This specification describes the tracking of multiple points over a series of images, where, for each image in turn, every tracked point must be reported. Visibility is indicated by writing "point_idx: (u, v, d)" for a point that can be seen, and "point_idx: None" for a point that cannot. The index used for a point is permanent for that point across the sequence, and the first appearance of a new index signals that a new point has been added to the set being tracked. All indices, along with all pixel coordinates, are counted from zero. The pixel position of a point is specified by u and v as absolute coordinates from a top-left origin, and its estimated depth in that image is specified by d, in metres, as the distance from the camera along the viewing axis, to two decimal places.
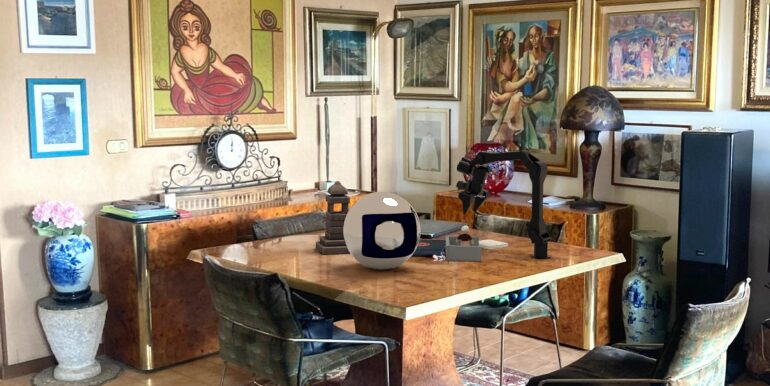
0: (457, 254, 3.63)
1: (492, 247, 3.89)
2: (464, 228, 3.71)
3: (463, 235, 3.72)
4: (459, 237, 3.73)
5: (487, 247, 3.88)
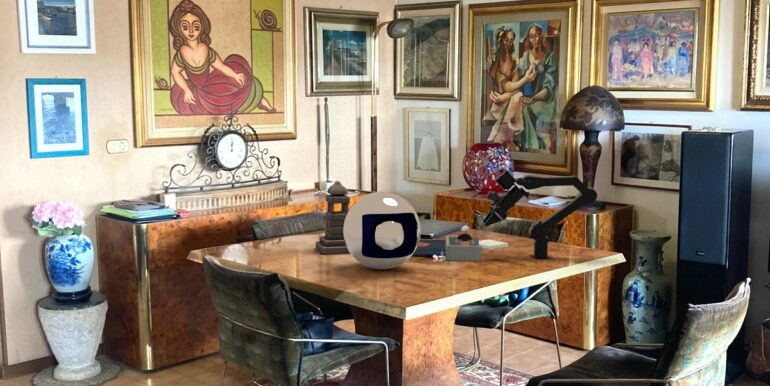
0: (457, 254, 3.63)
1: (492, 247, 3.89)
2: (464, 228, 3.71)
3: (463, 235, 3.72)
4: (459, 237, 3.73)
5: (487, 247, 3.88)
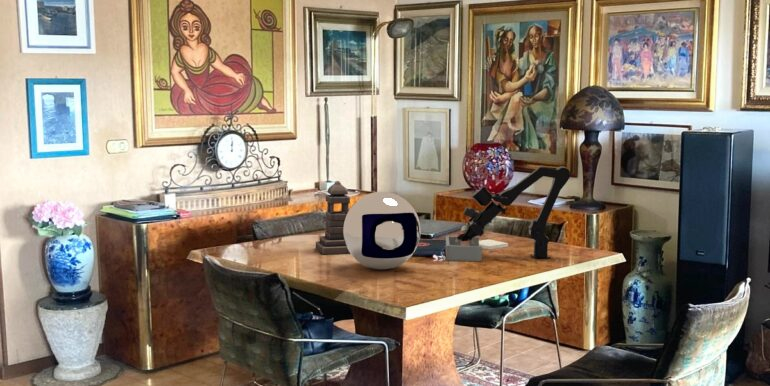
0: (457, 254, 3.63)
1: (492, 247, 3.89)
2: (464, 228, 3.72)
3: (463, 235, 3.73)
4: (459, 237, 3.73)
5: (487, 247, 3.88)
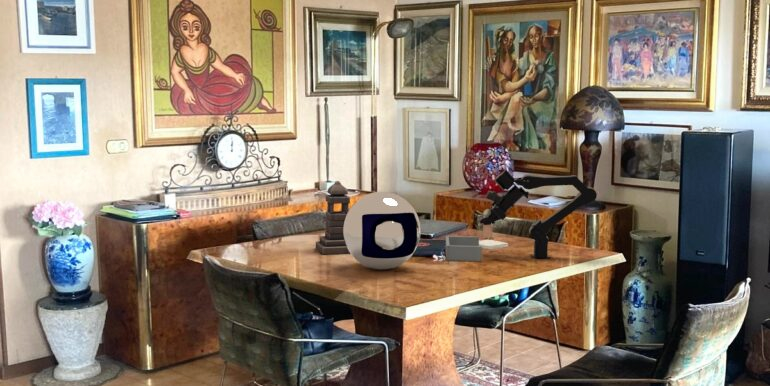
0: (457, 254, 3.63)
1: (492, 247, 3.89)
2: (486, 212, 3.71)
3: (485, 219, 3.72)
4: (481, 221, 3.73)
5: (487, 247, 3.88)
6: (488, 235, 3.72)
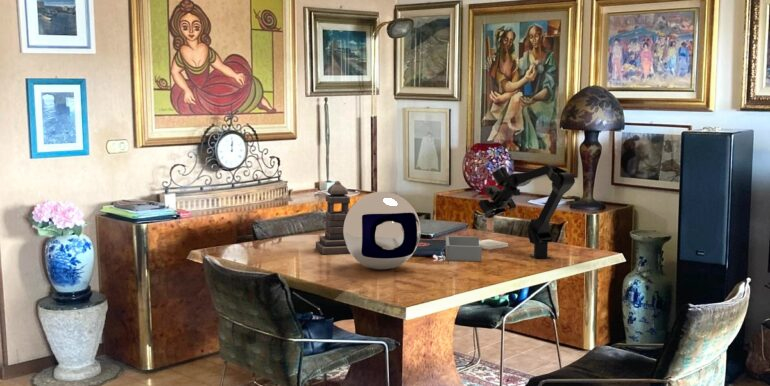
0: (457, 254, 3.63)
1: (492, 247, 3.89)
2: None
3: None
4: None
5: (487, 247, 3.88)
6: (488, 228, 3.94)
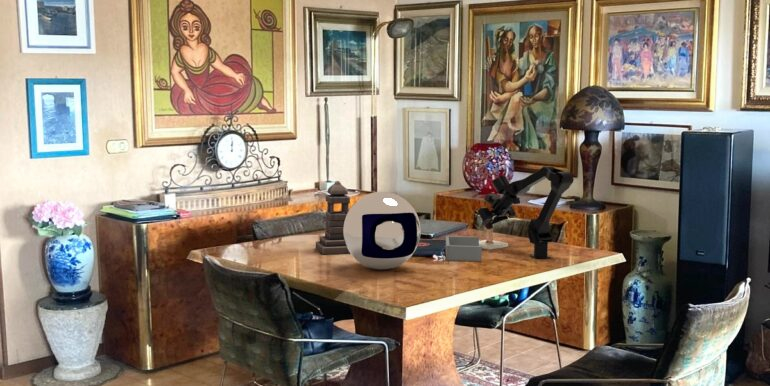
0: (457, 254, 3.63)
1: (492, 247, 3.89)
2: None
3: None
4: (485, 225, 3.97)
5: (487, 247, 3.88)
6: (487, 239, 3.94)
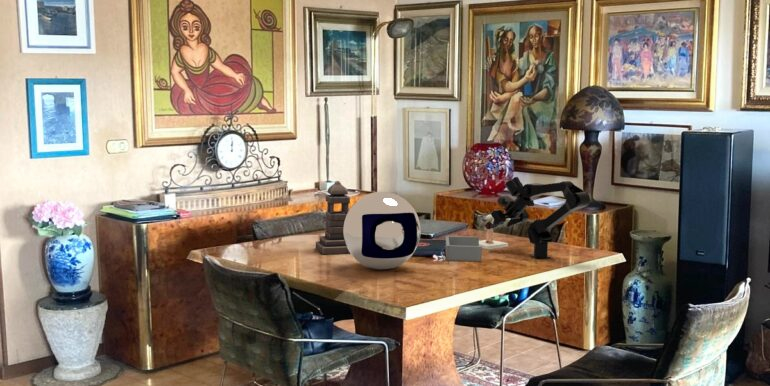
0: (457, 254, 3.63)
1: (492, 247, 3.89)
2: None
3: (487, 223, 3.95)
4: (485, 225, 3.97)
5: (487, 247, 3.88)
6: (487, 239, 3.94)
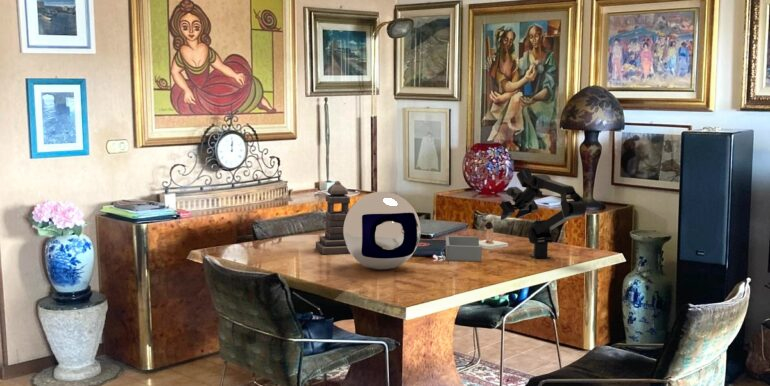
0: (457, 254, 3.63)
1: (492, 247, 3.89)
2: None
3: (487, 223, 3.95)
4: (485, 225, 3.97)
5: (487, 247, 3.88)
6: (487, 239, 3.94)
